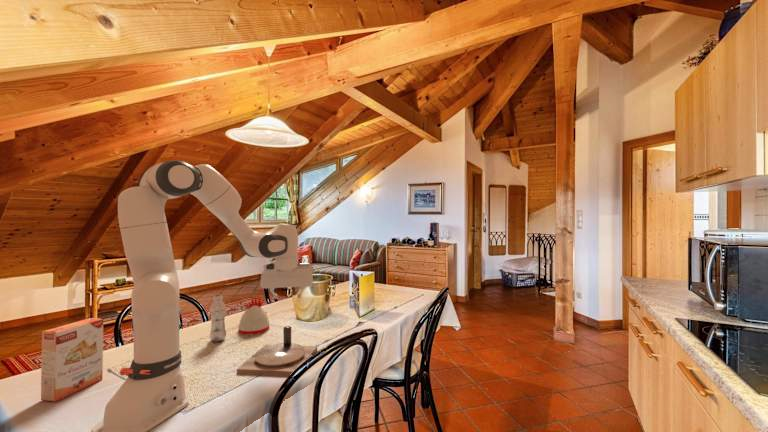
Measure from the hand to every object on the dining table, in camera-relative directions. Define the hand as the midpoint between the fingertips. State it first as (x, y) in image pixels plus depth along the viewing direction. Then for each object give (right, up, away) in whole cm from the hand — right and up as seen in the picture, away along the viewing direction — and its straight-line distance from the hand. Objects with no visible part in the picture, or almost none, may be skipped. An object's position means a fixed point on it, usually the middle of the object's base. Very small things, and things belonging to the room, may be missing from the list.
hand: (287, 298), depth 131 cm
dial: (-1, -20, -7) cm, 21 cm away
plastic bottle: (-35, -22, +13) cm, 44 cm away
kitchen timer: (-24, -23, +27) cm, 43 cm away
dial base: (-1, -22, -7) cm, 23 cm away
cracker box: (-60, -23, -27) cm, 70 cm away
